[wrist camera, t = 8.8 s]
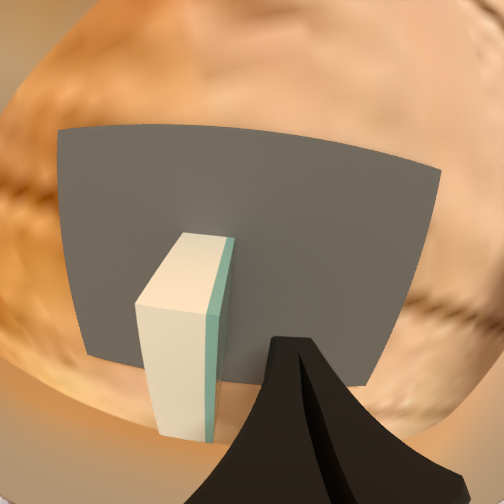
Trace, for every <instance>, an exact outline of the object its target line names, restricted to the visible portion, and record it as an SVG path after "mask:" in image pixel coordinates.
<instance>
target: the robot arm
mask: <svg viewBox="0 0 504 504" xmlns="http://www.w3.org/2000/svg"><path fill="white" fill-rule="evenodd" d="M470 500H471V498H470V495H469V492H468V489H467V487H466V484H465V482H464V479H463V477H462V476H461V475H459V474H457V473H455V472H453V471H450V470H448V469H446V468H444V467H442V466H440V465H438V464H436V463H434V462H432V461H431V460H429V459H427V458H426V457H424V456H422V455H421V454H419V453H417V452H416V451H414V450H413V449H412V448H410V447H409V446H407V445H406V444H405V443H403V442H402V441H401V440H400V439H398V438H397V437H396V436H394V435H393V434H392V433H391V432H389V431H388V430H387V429H386V428H385V427H384V426H382V425H381V424H380V423H379V422H378V421H377V420H376V419H375V418H374V417H373V416H372V415H371V414H370V413H369V412H368V411H367V410H366V409H365V408H364V407H363V406H362V405H361V404H360V402H359V401H358V400H357V399H356V398H355V397H354V396H353V394H352V393H351V392H350V391H349V390H348V388H347V387H346V386H345V385H344V383H343V382H342V381H341V379H340V378H339V377H338V375H337V374H336V373H335V371H334V370H333V369H332V367H331V366H330V364H329V363H328V362H327V360H326V359H325V357H324V356H323V354H322V353H321V351H320V350H319V348H318V347H317V345H316V344H315V342H314V341H313V340H312V338H307V337H286V336H274V337H272V338H271V341H270V346H269V352H268V357H267V363H266V368H265V373H264V381H263V384H262V387H261V389H260V391H259V394H258V396H257V399H256V401H255V403H254V406H253V408H252V410H251V412H250V414H249V416H248V418H247V420H246V421H245V423H244V425H243V427H242V429H241V430H240V432H239V434H238V435H237V437H236V439H235V440H234V442H233V443H232V445H231V446H230V448H229V450H228V451H227V453H226V454H225V455H224V457H223V458H222V459H221V461H220V462H219V463H218V465H217V466H216V467H215V469H214V470H213V471H212V472H211V474H210V475H209V476H208V478H207V479H206V480H205V481H204V482H203V483H202V485H201V486H200V487H199V488H198V489H197V490H196V491H195V492H194V493H193V494H192V495H191V497H190V498H189V499H188V500H187V501H186V502H185V503H184V504H469V502H470ZM0 504H15V503H13V502H11V501H10V500H8V499H6V498H5V497H4V496H2V495H1V494H0ZM497 504H504V499H502V500H501V501H500V502H498V503H497Z"/></svg>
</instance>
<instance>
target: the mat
mask: <svg viewBox="0 0 504 504" xmlns="http://www.w3.org/2000/svg"><path fill="white" fill-rule="evenodd" d="M440 176H441V170H440V169H437V168H434V167H431V166H427V165H424V164H421V163H418V162H414V161H411V160H407V159H404V158H400V157H397V156H393V155H389V154H385V153H381V152H377V151H373V150H369V149H365V148H360V147H356V146H351V145H347V144H342V143H337V142H332V141H327V140H321V139H316V138H310V137H304V136H297V135H291V134H284V133H276V132H269V131H260V130H251V129H241V128H230V127H216V126H199V125H168V124H141V125H111V126H95V127H82V128H72V129H63V130H58V141H57V181H58V201H59V214H60V225H61V234H62V242H63V249H64V256H65V262H66V268H67V274H68V279H69V284H70V289H71V294H72V299H73V303H74V307H75V312H76V316H77V319H78V323H79V327H80V331H81V334H82V338H83V341H84V345H85V348H86V351H87V354H88V355H91V356H94V357H98V358H102V359H106V360H109V361H113V362H117V363H122V364H126V365H130V366H135V367H139V368H144V363H143V357H142V351H141V345H140V339H139V332H138V325H137V317H136V309H135V303H136V301H137V299H138V298H139V296H140V295H141V293H142V292H143V290H144V289H145V287H146V286H147V284H148V283H149V281H150V280H151V278H152V277H153V275H154V274H155V272H156V271H157V269H158V268H159V266H160V265H161V263H162V262H163V260H164V259H165V257H166V256H167V255H168V253H169V252H170V250H171V249H172V247H173V246H174V245H175V243H176V242H177V240H178V239H179V237H180V236H181V235H182V233H193V234H202V235H212V236H221V237H231V238H235V242H234V252H233V263H232V274H231V285H230V296H229V308H228V320H227V332H226V345H225V357H224V364H223V372H222V379H221V381H226V382H236V383H246V384H259V385H262V384H263V381H264V373H265V368H266V363H267V357H268V352H269V346H270V341H271V338H272V337H274V336H286V337H307V338H312V340H313V341H314V342H315V344H316V345H317V347H318V348H319V350H320V351H321V353H322V354H323V356H324V357H325V359H326V360H327V362H328V363H329V364H330V366H331V367H332V369H333V370H334V371H335V373H336V374H337V375H338V377H339V378H340V379H341V381H342V382H343V383H344V385H345V386H366V384H367V382H368V380H369V378H370V376H371V374H372V372H373V370H374V368H375V366H376V364H377V362H378V360H379V358H380V356H381V354H382V352H383V350H384V348H385V346H386V344H387V341H388V339H389V337H390V335H391V333H392V330H393V328H394V326H395V323H396V321H397V319H398V316H399V314H400V311H401V309H402V306H403V304H404V301H405V299H406V296H407V293H408V291H409V288H410V285H411V282H412V279H413V277H414V274H415V271H416V268H417V265H418V262H419V259H420V255H421V252H422V249H423V246H424V242H425V239H426V235H427V232H428V228H429V224H430V220H431V216H432V212H433V208H434V204H435V200H436V195H437V191H438V186H439V181H440ZM144 369H145V368H144Z"/></svg>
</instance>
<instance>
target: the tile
mask: <svg viewBox="0 0 504 504" xmlns="http://www.w3.org/2000/svg"><path fill="white" fill-rule="evenodd" d="M234 242H235V238H231V237H221V236H212V235H202V234H193V233H182V235H181V236H180V237H179V239H178V240H177V242H176V243H175V245H174V246H173V247H172V249H171V250H170V252H169V253H168V255H167V256H166V257H165V259H164V260H163V262H162V263H161V265H160V266H159V268H158V269H157V271H156V272H155V274H154V275H153V277H152V278H151V280H150V281H149V283H148V284H147V286H146V287H145V289H144V290H143V292H142V293H141V295H140V296H139V298H138V299H137V301H136V303H135V309H136V317H137V325H138V332H139V339H140V345H141V351H142V357H143V363H144V368H145V373H146V378H147V383H148V388H149V393H150V397H151V402H152V406H153V410H154V414H155V418H156V422H157V426H158V430H159V434H160V435H164V436H170V437H174V438H180V439H186V440H193V441H199V442H206V443H214V435H215V427H216V419H217V411H218V403H219V395H220V387H221V379H222V372H223V364H224V357H225V345H226V332H227V320H228V308H229V296H230V285H231V274H232V263H233V252H234Z"/></svg>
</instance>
